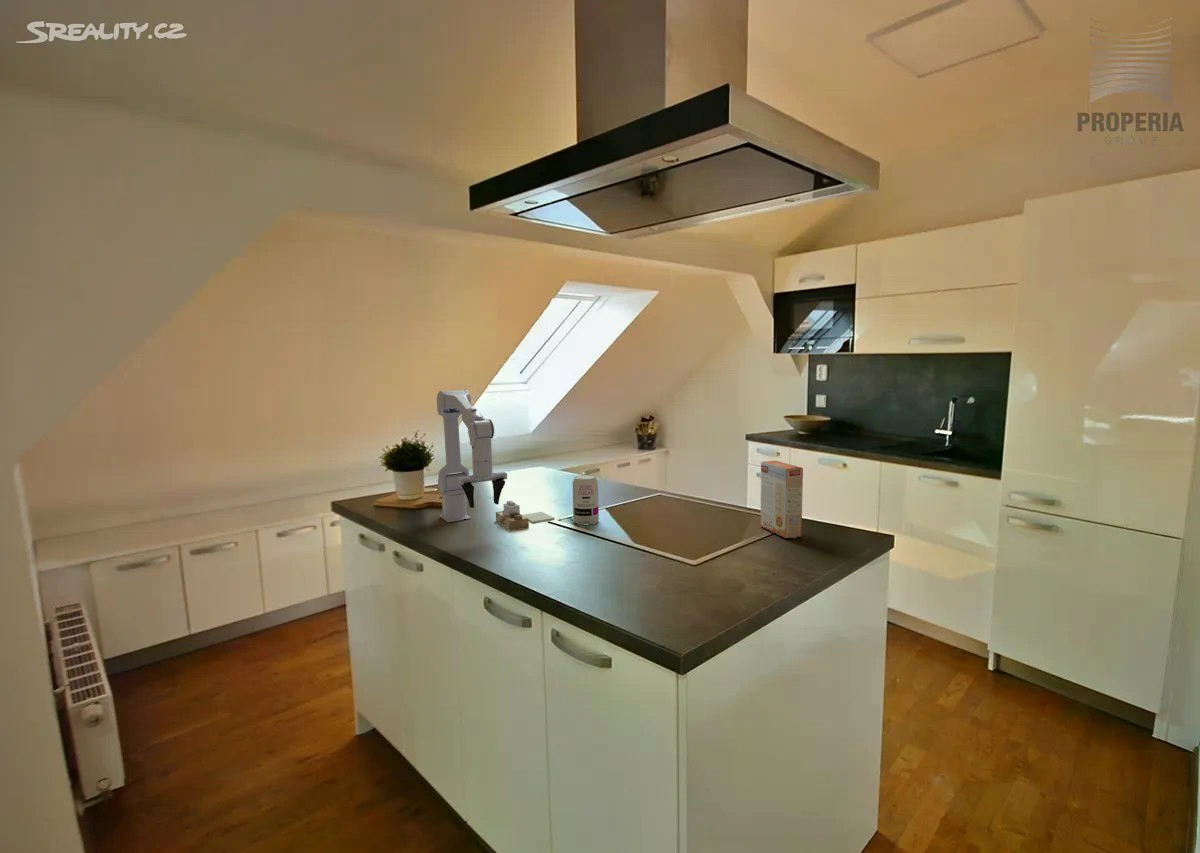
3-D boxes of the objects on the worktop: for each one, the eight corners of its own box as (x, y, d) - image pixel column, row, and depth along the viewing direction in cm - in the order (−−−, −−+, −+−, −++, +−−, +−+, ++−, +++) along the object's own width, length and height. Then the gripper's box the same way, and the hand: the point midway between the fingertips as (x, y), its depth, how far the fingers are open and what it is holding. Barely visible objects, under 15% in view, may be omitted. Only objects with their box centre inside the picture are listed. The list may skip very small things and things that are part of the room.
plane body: (496, 520, 193) (495, 509, 192) (511, 518, 196) (511, 506, 195) (512, 530, 181) (512, 518, 180) (528, 527, 184) (528, 515, 183)
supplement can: (590, 517, 195) (589, 473, 193) (603, 523, 188) (602, 477, 186) (569, 521, 190) (568, 476, 189) (581, 527, 183) (580, 480, 182)
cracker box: (803, 538, 167) (804, 467, 165) (784, 540, 166) (785, 468, 163) (776, 525, 181) (777, 459, 178) (759, 527, 179) (760, 460, 177)
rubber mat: (520, 516, 197) (520, 515, 197) (541, 513, 201) (541, 511, 201) (532, 523, 189) (532, 521, 189) (554, 519, 193) (554, 517, 193)
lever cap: (503, 514, 189) (503, 501, 189) (513, 512, 191) (513, 500, 191) (509, 517, 185) (509, 504, 184) (519, 516, 187) (519, 503, 186)
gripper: (462, 465, 164) (464, 511, 165) (510, 459, 171) (511, 504, 173) (455, 461, 170) (457, 506, 171) (501, 456, 177) (503, 500, 179)
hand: (484, 505), depth 173 cm, fingers open, 7 cm apart
